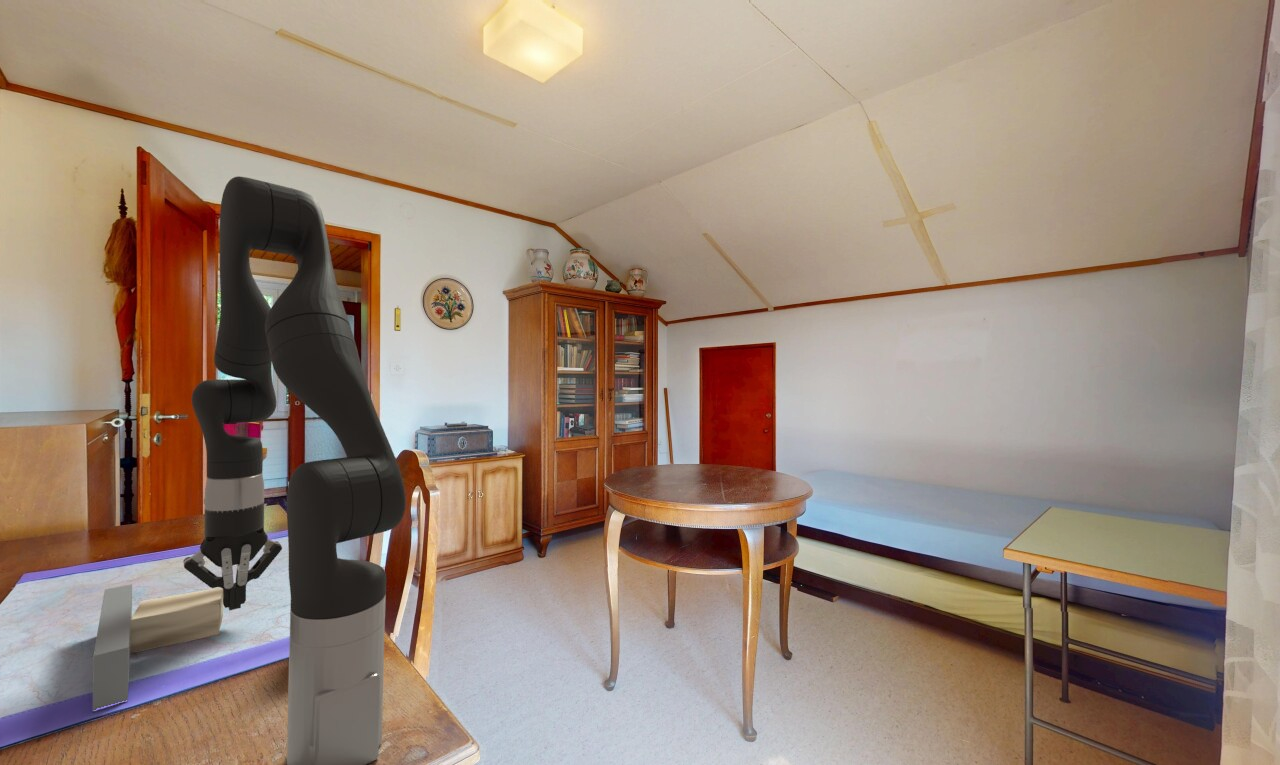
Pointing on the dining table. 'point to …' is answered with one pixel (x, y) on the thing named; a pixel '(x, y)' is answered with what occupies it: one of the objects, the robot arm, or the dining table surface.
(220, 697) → the dining table surface
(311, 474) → the robot arm
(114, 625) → the grey block
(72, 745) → the dining table surface
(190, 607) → the birch block
